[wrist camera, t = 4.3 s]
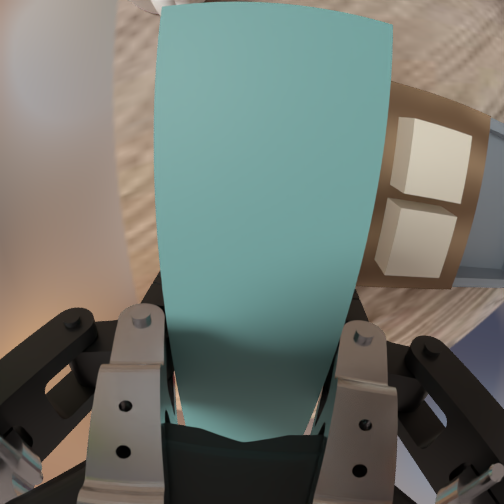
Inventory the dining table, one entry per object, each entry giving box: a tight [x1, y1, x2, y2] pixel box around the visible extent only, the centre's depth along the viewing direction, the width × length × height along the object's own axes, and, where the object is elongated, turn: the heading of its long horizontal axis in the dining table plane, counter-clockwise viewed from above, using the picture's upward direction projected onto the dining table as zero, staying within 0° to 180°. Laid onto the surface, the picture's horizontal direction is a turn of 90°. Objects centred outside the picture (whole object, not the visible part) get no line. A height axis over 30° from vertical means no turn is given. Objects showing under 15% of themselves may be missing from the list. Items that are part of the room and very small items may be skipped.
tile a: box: [390, 117, 472, 204], centre depth 17 cm, size 5×5×2 cm
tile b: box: [375, 198, 457, 278], centre depth 20 cm, size 5×5×2 cm
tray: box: [452, 118, 504, 288], centre depth 21 cm, size 16×11×3 cm
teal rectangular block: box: [154, 2, 393, 442], centre depth 9 cm, size 16×4×5 cm, turn 176°
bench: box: [356, 81, 491, 289], centre depth 21 cm, size 16×10×4 cm, turn 177°
